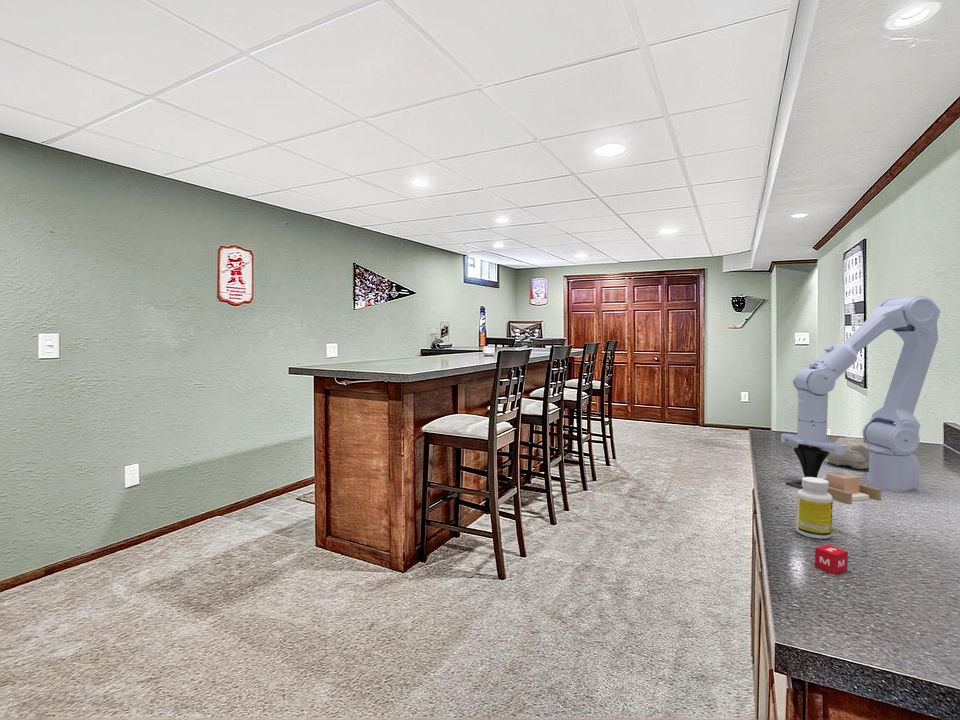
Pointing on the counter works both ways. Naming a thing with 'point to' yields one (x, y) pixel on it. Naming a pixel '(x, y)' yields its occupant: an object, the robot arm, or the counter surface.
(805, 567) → the counter surface
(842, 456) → the fossil replica
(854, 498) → the cream low channel
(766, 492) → the counter surface
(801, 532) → the supplement bottle
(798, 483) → the pit
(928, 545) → the counter surface
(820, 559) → the red letter cube
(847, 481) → the block
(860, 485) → the track
